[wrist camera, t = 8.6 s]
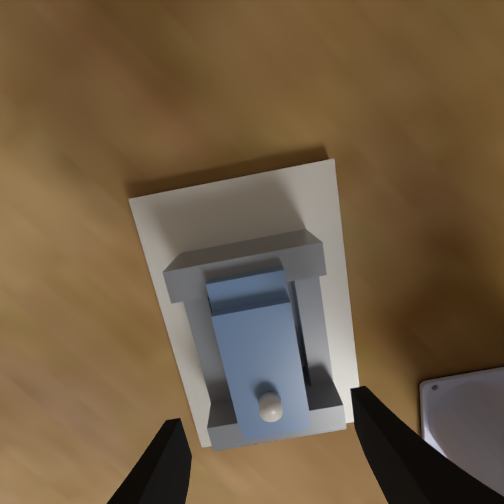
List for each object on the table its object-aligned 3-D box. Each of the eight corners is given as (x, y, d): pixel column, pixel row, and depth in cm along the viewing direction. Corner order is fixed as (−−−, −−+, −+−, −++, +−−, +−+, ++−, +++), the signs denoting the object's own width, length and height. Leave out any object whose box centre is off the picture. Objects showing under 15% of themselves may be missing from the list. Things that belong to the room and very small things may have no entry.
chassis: (329, 159, 18) (360, 151, 13) (357, 410, 23) (387, 471, 18) (134, 198, 18) (94, 204, 13) (203, 436, 23) (192, 503, 18)
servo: (275, 248, 18) (288, 279, 12) (297, 377, 21) (317, 451, 15) (215, 260, 18) (201, 295, 13) (244, 386, 21) (244, 463, 15)
